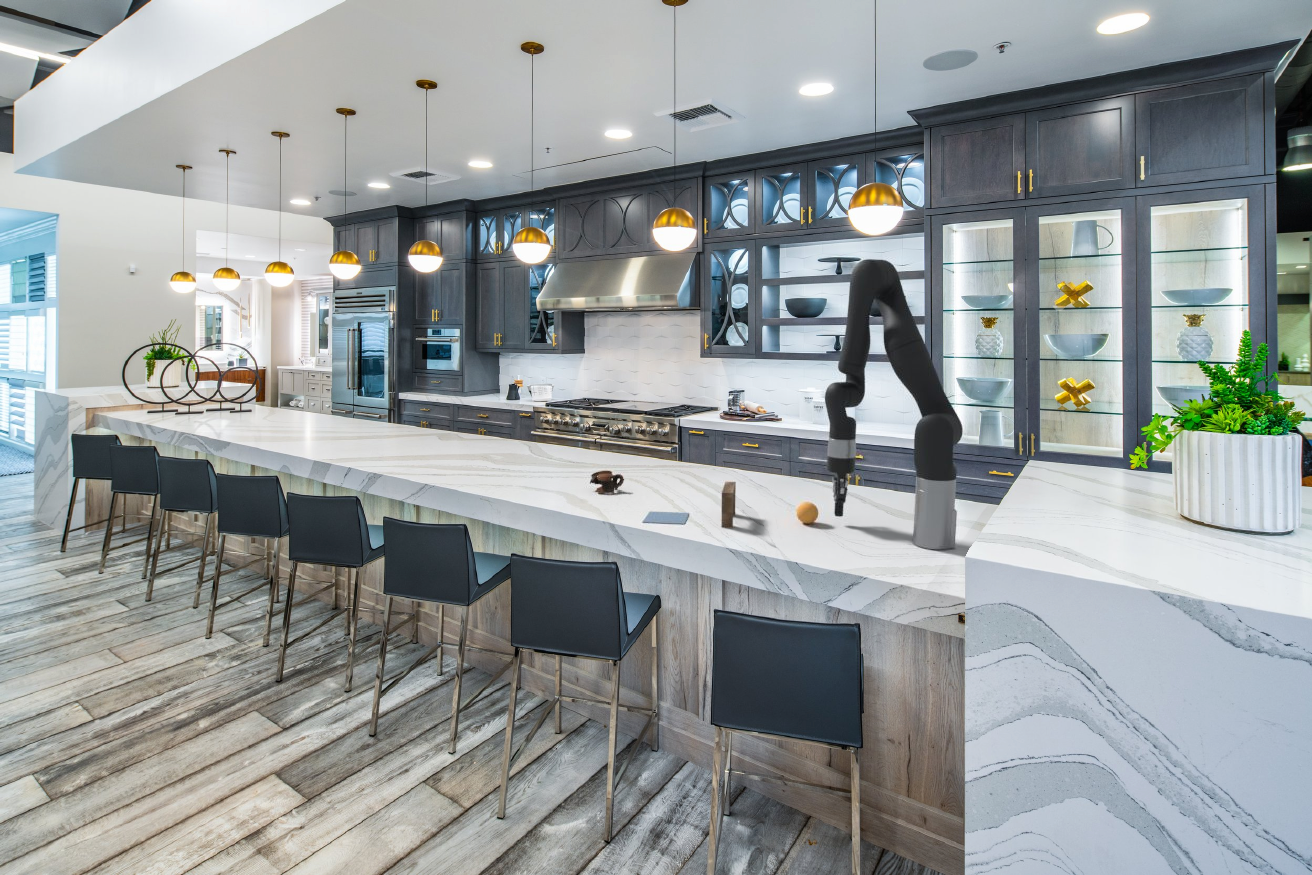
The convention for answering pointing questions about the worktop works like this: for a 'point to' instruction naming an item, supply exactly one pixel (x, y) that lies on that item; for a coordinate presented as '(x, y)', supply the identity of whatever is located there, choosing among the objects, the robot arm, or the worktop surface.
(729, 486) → the bridge
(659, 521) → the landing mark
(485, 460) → the worktop surface
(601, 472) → the pottery mug
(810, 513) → the ball
